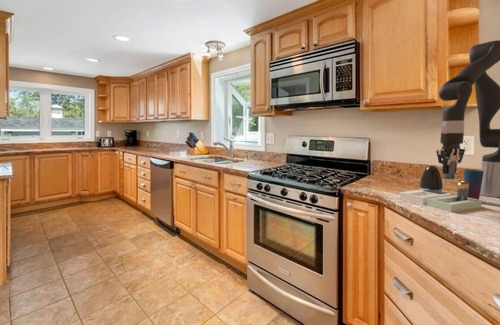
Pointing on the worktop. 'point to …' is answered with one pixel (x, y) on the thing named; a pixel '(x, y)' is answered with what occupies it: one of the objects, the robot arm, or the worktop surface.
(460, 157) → the robot arm
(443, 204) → the trough rack
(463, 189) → the cell
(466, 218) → the worktop surface
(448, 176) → the cell
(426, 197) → the battery tester
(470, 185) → the cup
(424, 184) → the black tapered dome
